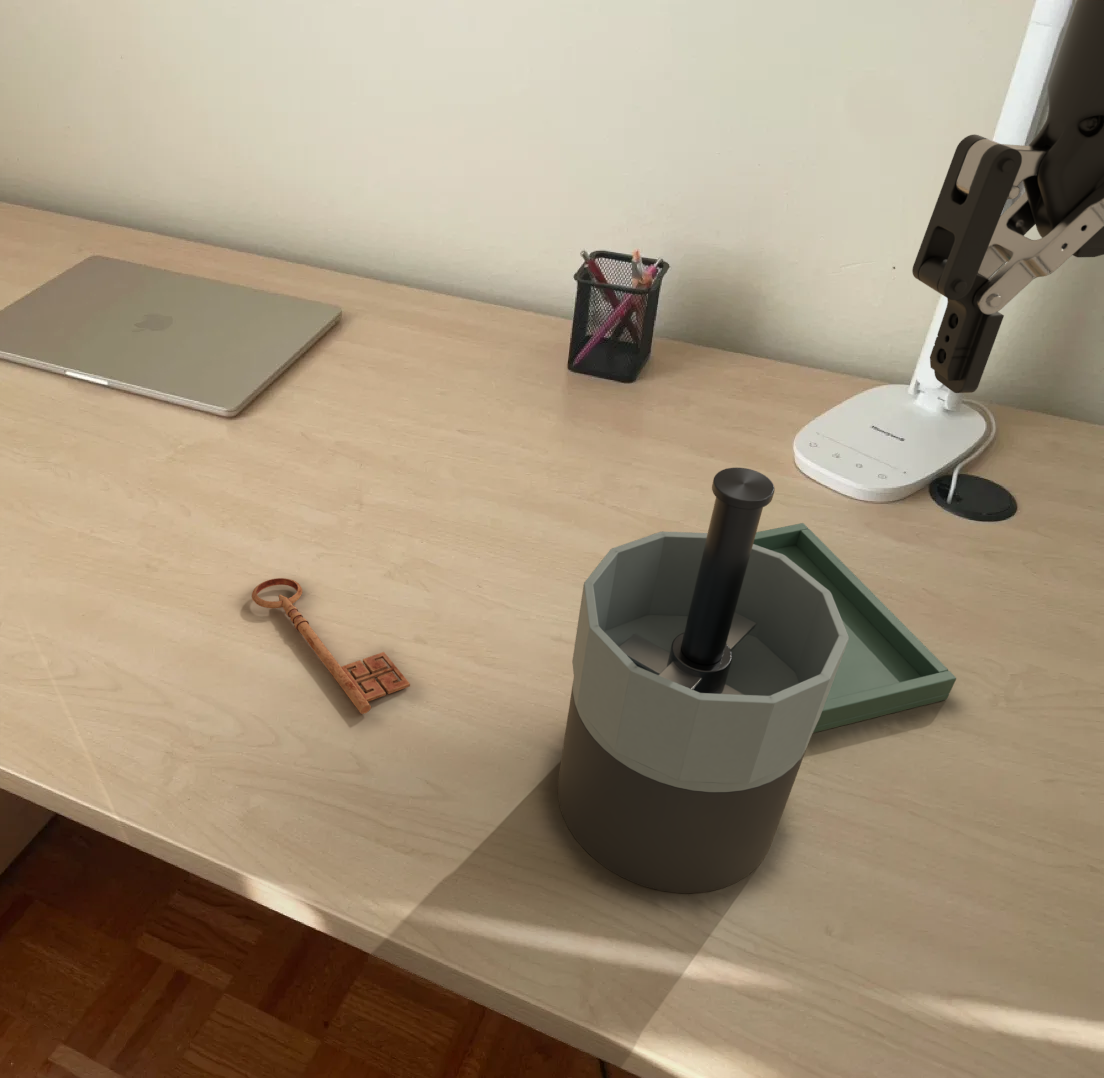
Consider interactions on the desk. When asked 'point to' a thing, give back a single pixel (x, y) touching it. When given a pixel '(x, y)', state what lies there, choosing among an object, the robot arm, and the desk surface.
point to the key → (329, 661)
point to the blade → (714, 590)
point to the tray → (863, 640)
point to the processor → (691, 717)
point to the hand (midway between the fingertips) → (1041, 383)
